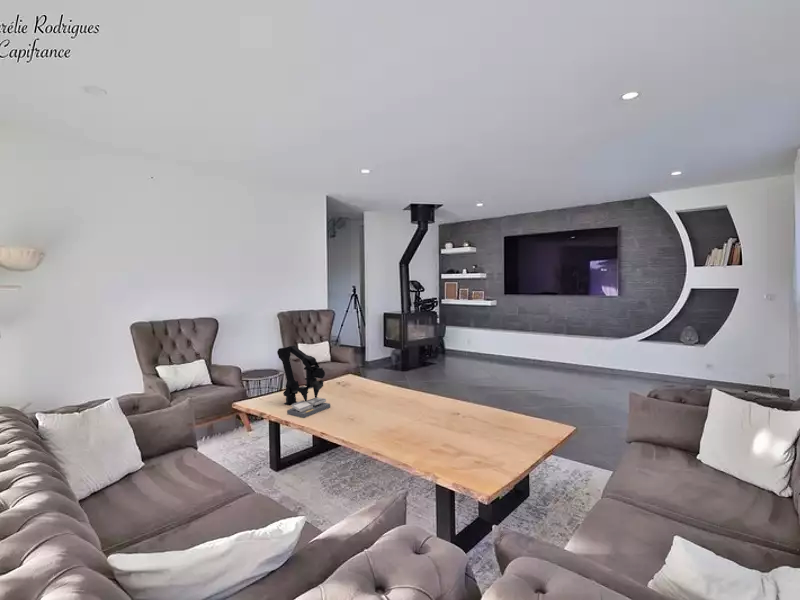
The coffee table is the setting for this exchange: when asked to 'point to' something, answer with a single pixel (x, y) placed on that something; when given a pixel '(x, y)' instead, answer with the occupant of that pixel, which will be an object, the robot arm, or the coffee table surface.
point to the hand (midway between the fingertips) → (311, 399)
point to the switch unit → (309, 412)
